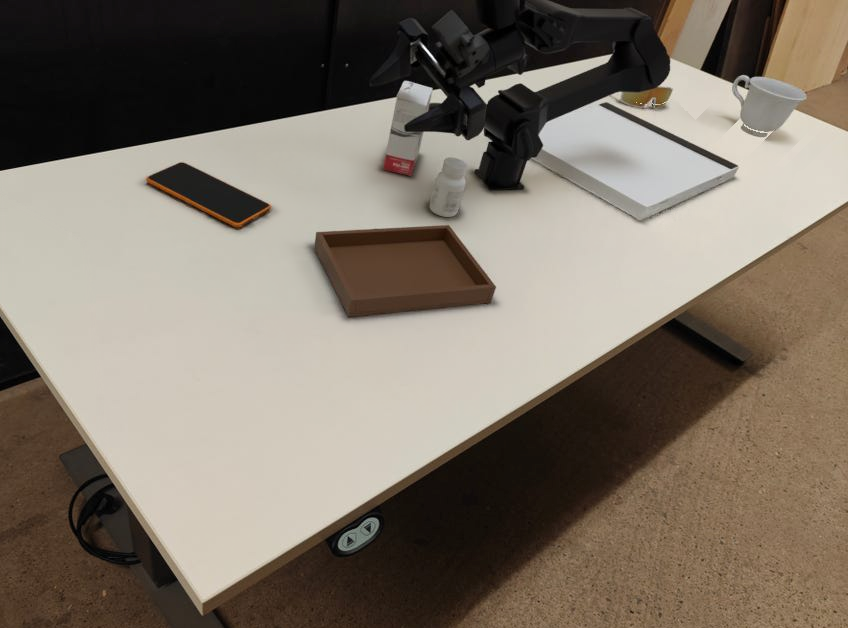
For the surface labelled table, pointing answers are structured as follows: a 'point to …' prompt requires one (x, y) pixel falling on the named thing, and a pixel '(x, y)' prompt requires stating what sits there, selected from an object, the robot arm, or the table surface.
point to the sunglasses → (647, 97)
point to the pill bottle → (449, 188)
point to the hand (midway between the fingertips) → (387, 105)
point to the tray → (401, 269)
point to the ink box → (403, 143)
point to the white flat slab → (628, 160)
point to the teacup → (766, 103)
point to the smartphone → (209, 194)
